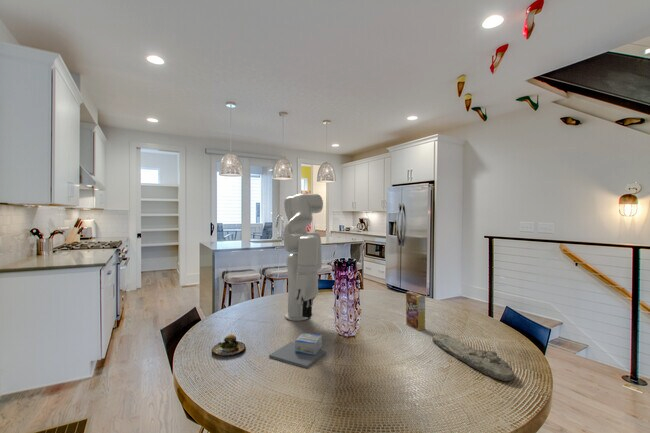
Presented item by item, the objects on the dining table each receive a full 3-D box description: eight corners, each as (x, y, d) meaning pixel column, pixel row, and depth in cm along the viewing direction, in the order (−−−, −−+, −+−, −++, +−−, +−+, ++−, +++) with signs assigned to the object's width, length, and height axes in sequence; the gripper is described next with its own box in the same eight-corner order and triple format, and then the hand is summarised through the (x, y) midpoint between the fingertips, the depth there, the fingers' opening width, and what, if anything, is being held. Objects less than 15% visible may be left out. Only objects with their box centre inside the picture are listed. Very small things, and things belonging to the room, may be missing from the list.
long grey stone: (446, 342, 130) (426, 346, 127) (445, 329, 130) (425, 333, 127) (524, 379, 97) (500, 386, 94) (523, 362, 97) (498, 368, 94)
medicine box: (322, 334, 119) (315, 343, 111) (322, 346, 119) (315, 355, 111) (302, 332, 121) (294, 340, 113) (302, 343, 121) (294, 353, 113)
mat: (290, 344, 123) (290, 342, 123) (326, 353, 115) (326, 351, 115) (269, 357, 111) (269, 355, 111) (307, 368, 103) (307, 365, 103)
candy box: (405, 324, 146) (405, 291, 146) (412, 323, 148) (412, 290, 148) (417, 330, 138) (418, 296, 138) (425, 329, 140) (425, 295, 140)
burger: (204, 356, 112) (205, 335, 112) (225, 343, 123) (226, 324, 123) (232, 361, 108) (233, 340, 108) (252, 348, 119) (252, 328, 119)
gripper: (309, 264, 127) (309, 309, 127) (287, 271, 114) (287, 320, 114) (325, 266, 123) (325, 312, 124) (305, 273, 110) (304, 325, 111)
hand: (306, 316), depth 119 cm, fingers closed
